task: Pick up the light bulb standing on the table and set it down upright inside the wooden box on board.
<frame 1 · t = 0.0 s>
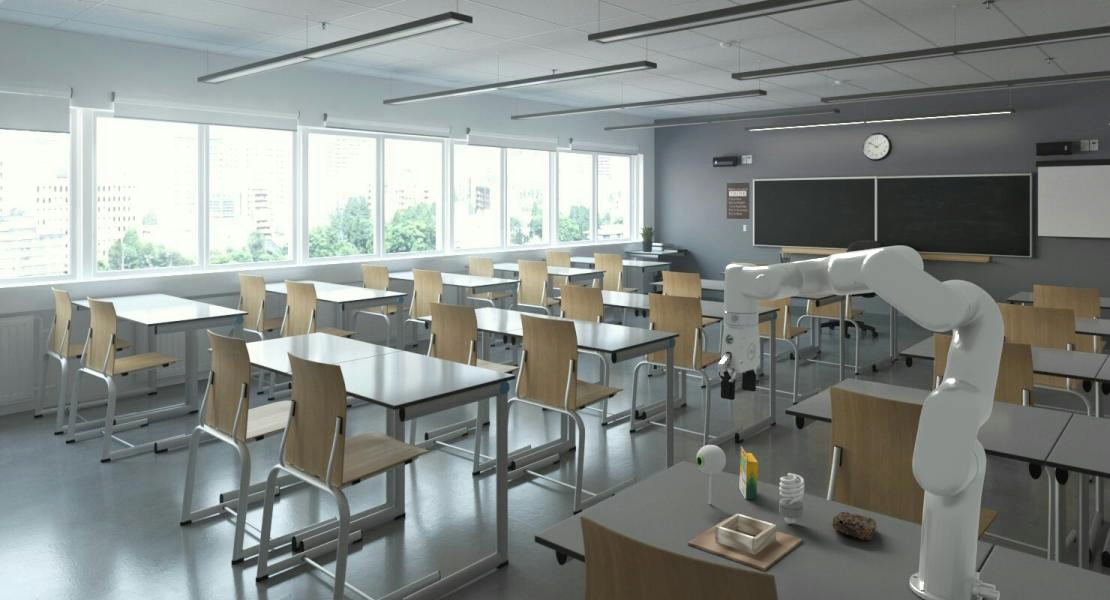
hand: (738, 394, 176), 31 cm above the table, tool pointing down, fingers open, 9 cm apart
lollipop: (709, 504, 193), on the table
crayon box: (747, 495, 199), on the table
light bulb: (790, 524, 182), on the table
wooden box on board: (745, 543, 172), on the table
concrete sample: (854, 534, 177), on the table
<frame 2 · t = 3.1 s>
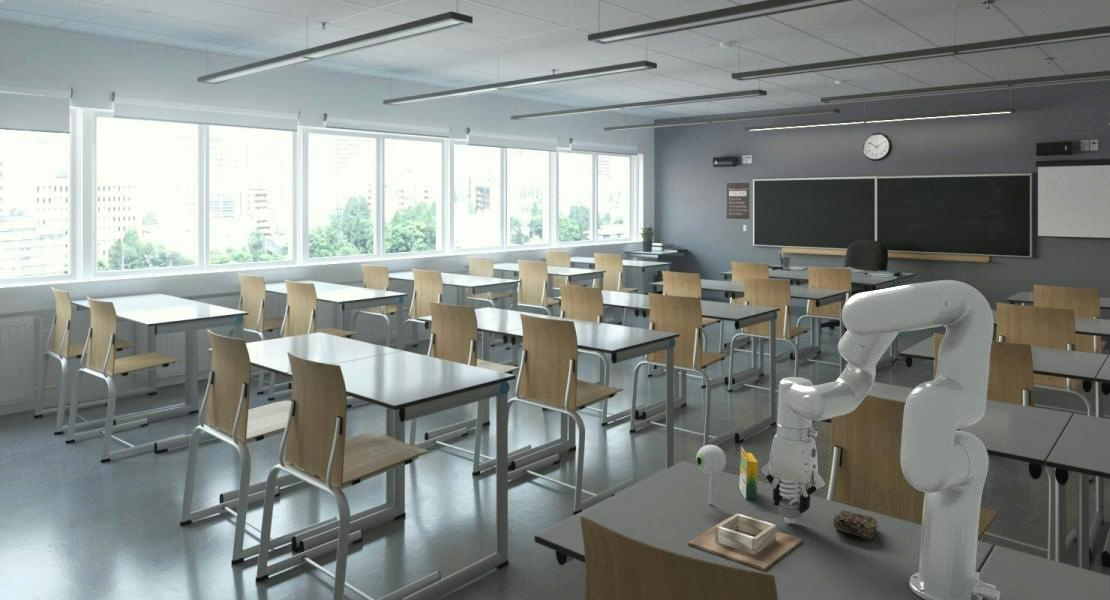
hand: (790, 506, 181), 4 cm above the table, tool pointing down, fingers closed on light bulb, 5 cm apart
light bulb: (790, 524, 182), on the table, touching gripper
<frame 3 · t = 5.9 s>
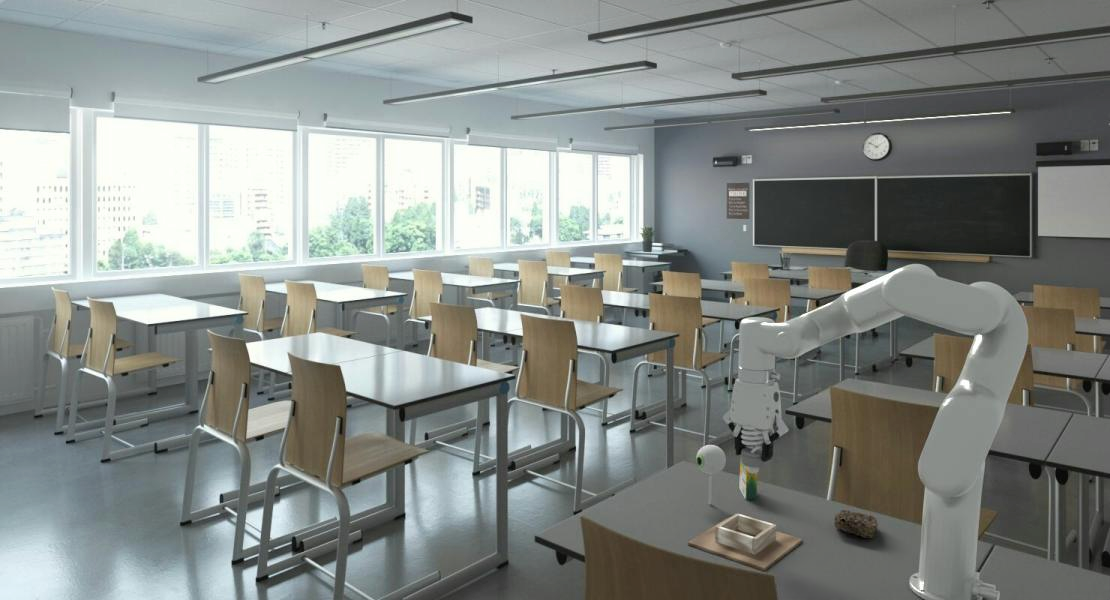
hand: (753, 456, 170), 19 cm above the table, tool pointing down, fingers closed on light bulb, 5 cm apart
light bulb: (752, 475, 171), point 15 cm above the table, touching gripper
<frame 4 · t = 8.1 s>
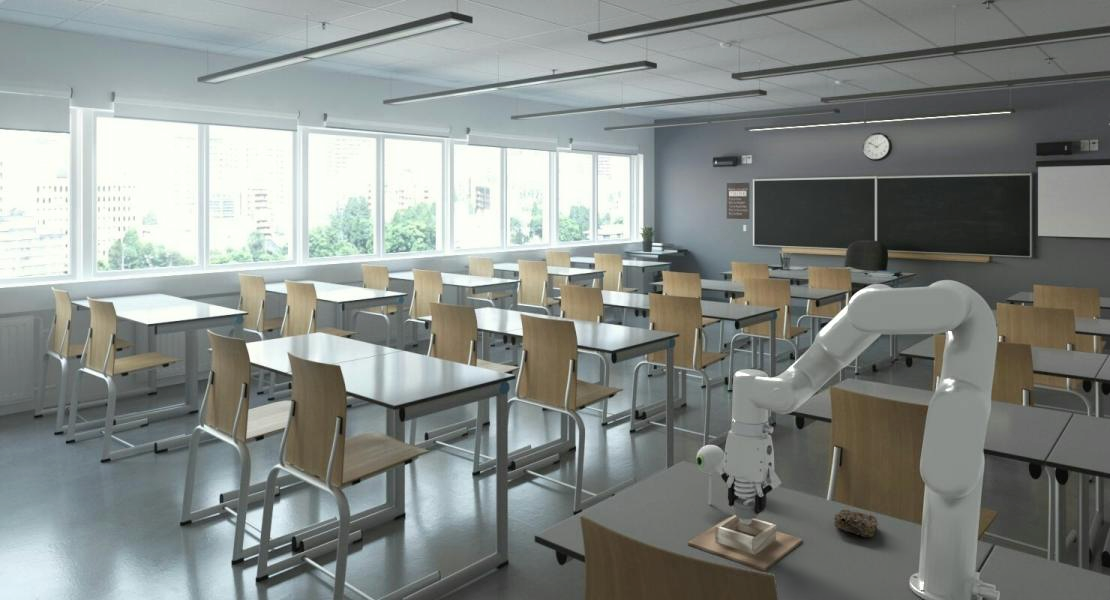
hand: (746, 507, 171), 8 cm above the table, tool pointing down, fingers closed on light bulb, 5 cm apart
light bulb: (745, 526, 171), point 4 cm above the table, touching gripper
when the fingers open (6 cm above the table, at t = 9.1 s): light bulb drops 1 cm, resting on wooden box on board.
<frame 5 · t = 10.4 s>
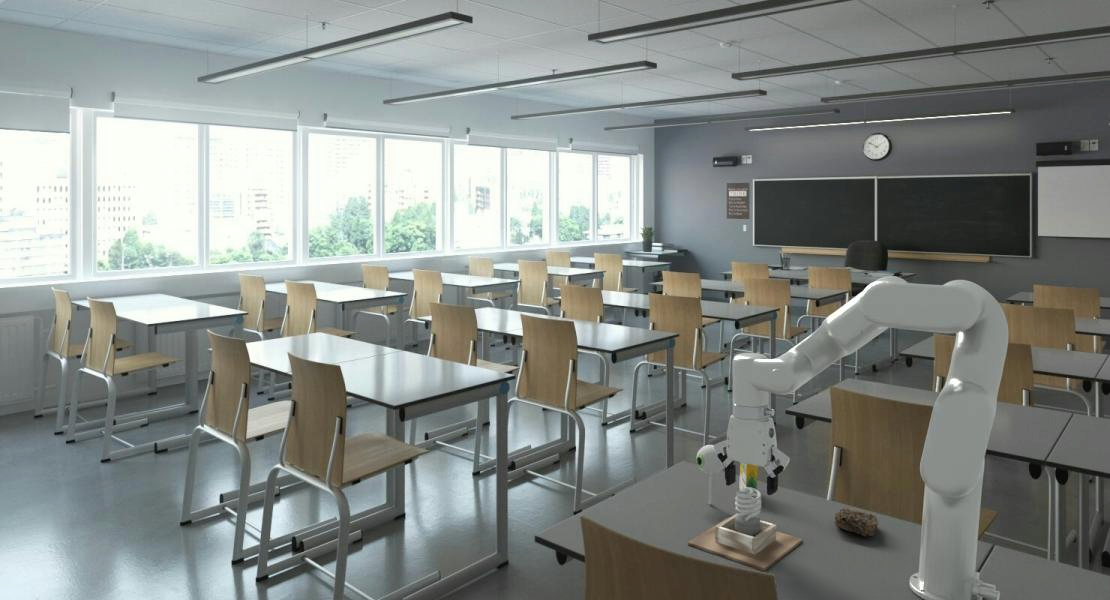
hand: (750, 488, 169), 13 cm above the table, tool pointing down, fingers open, 9 cm apart
light bulb: (746, 541, 171), resting on wooden box on board
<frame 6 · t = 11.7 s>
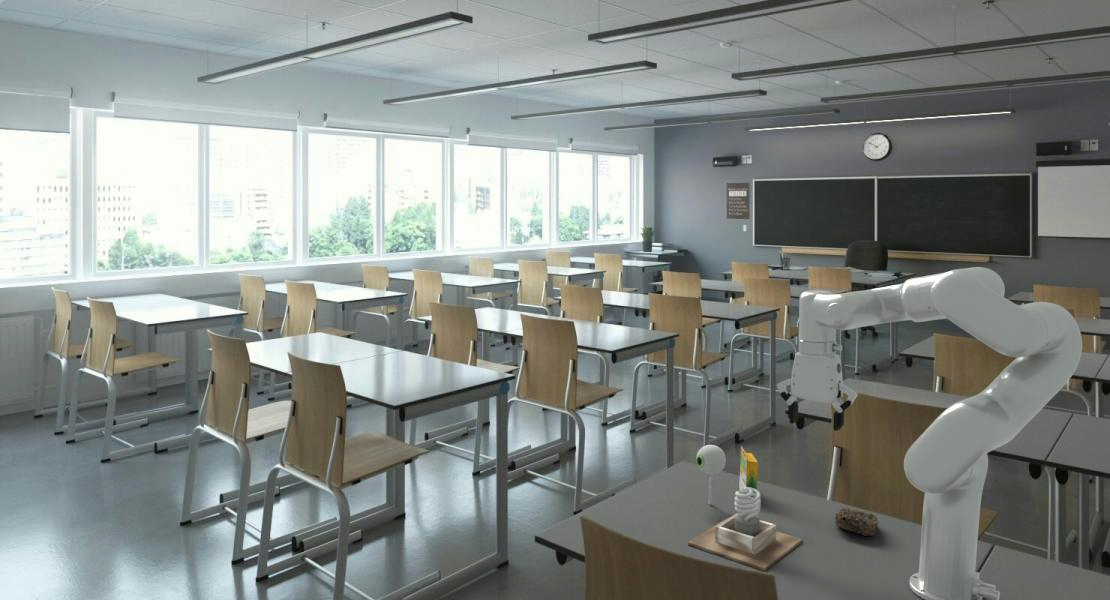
hand: (815, 425, 171), 26 cm above the table, tool pointing down, fingers open, 9 cm apart
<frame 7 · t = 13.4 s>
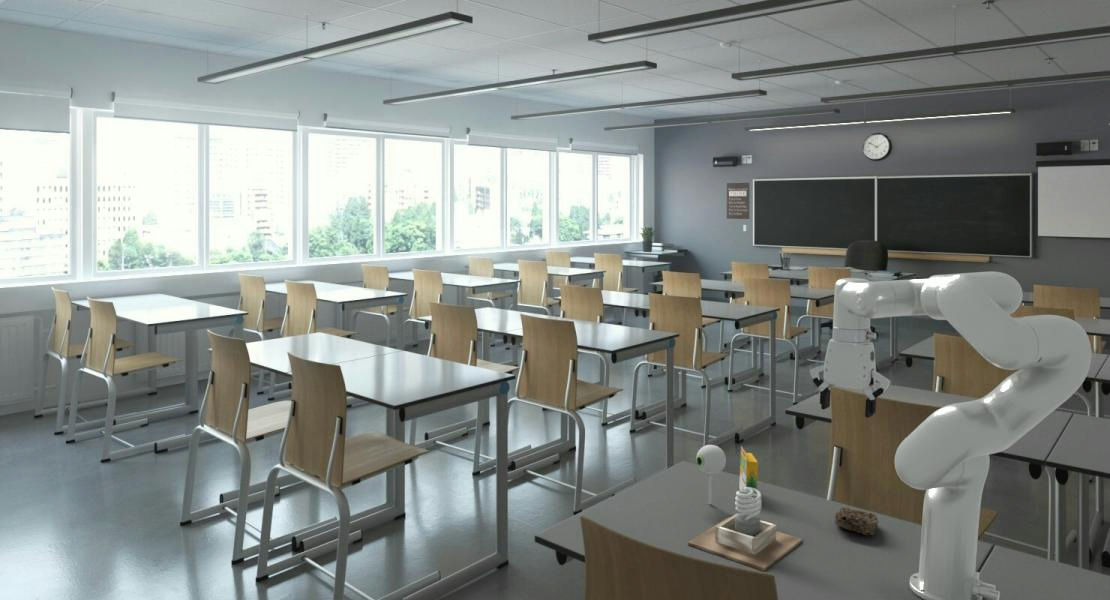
hand: (846, 412, 172), 28 cm above the table, tool pointing down, fingers open, 9 cm apart
at the end: light bulb 0.2 cm off-centre on the wooden box on board, point 0.4 cm above the wooden box on board's base; light bulb tilted 0°; the gripper is holding nothing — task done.
